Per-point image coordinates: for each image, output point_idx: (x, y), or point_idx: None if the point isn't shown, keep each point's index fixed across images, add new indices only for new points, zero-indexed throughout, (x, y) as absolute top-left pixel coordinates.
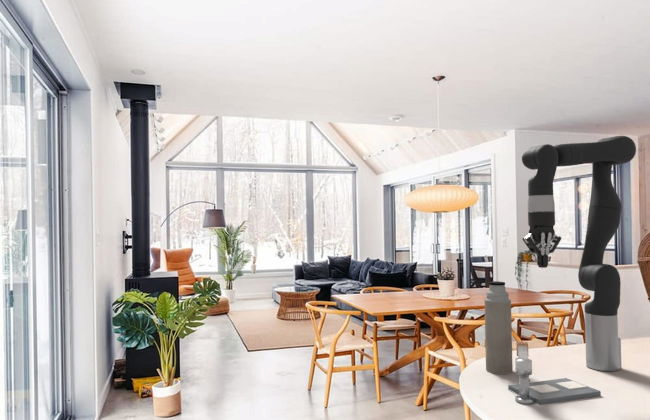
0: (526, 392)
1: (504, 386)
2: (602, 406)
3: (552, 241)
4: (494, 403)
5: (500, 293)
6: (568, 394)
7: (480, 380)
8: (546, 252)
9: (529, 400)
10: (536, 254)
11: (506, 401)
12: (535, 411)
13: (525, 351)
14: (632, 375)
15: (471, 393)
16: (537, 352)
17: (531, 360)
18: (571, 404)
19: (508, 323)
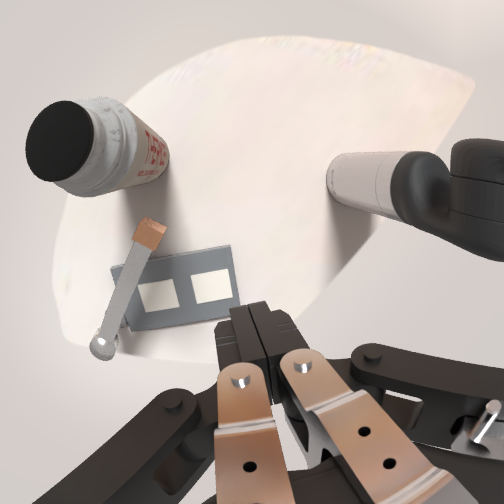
0: None
1: (112, 250)
2: (214, 343)
3: (463, 416)
4: (78, 314)
5: (70, 187)
6: (183, 320)
7: (86, 214)
8: (295, 422)
9: (120, 326)
10: (214, 385)
11: (94, 310)
12: (119, 345)
13: (126, 297)
14: (359, 228)
15: (57, 273)
16: (300, 58)
17: (113, 355)
18: (176, 333)
19: (128, 186)
